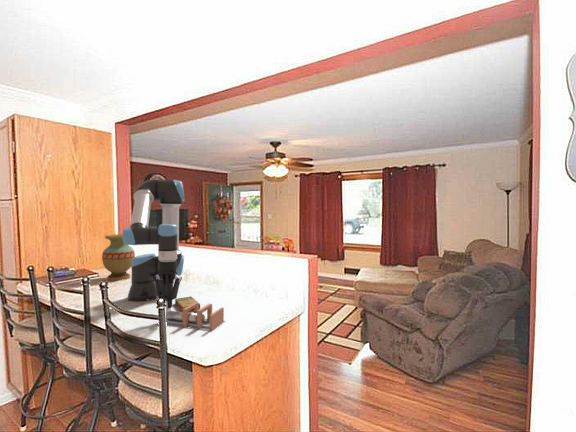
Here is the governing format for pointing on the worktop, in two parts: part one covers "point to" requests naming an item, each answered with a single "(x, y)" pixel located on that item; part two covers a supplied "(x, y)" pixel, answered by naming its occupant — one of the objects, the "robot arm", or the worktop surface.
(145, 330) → the worktop surface
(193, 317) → the tube
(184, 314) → the collar deck
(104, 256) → the vase
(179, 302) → the carton
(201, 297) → the worktop surface
